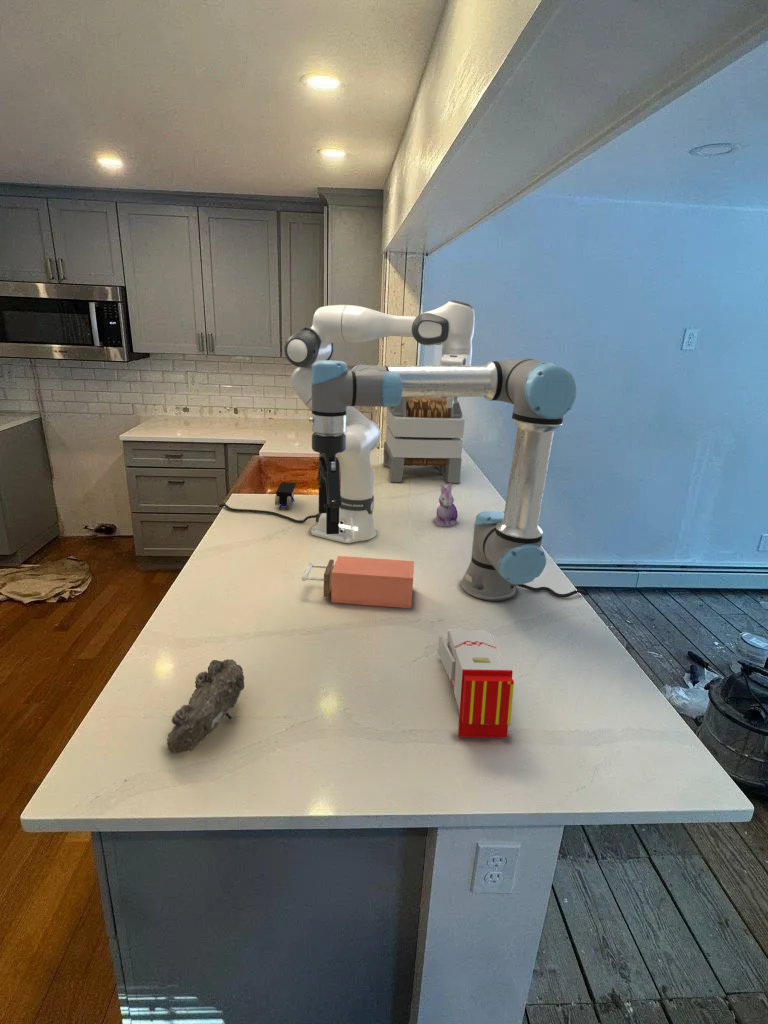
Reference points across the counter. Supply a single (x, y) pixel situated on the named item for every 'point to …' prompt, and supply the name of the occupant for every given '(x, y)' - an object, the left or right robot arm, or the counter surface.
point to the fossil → (206, 705)
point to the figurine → (446, 508)
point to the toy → (478, 682)
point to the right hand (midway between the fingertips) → (328, 522)
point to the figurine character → (285, 494)
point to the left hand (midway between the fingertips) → (452, 405)
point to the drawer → (326, 579)
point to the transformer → (424, 436)
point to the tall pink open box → (372, 581)
